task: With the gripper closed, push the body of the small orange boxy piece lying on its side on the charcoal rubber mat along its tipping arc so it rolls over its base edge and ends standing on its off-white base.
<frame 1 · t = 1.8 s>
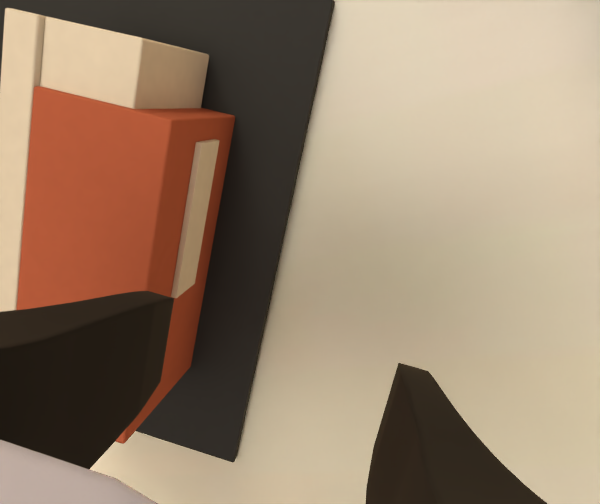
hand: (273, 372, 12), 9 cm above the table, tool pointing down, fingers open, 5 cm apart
mat: (85, 204, 22), on the table
orange boxy piece: (153, 212, 21), resting on mat
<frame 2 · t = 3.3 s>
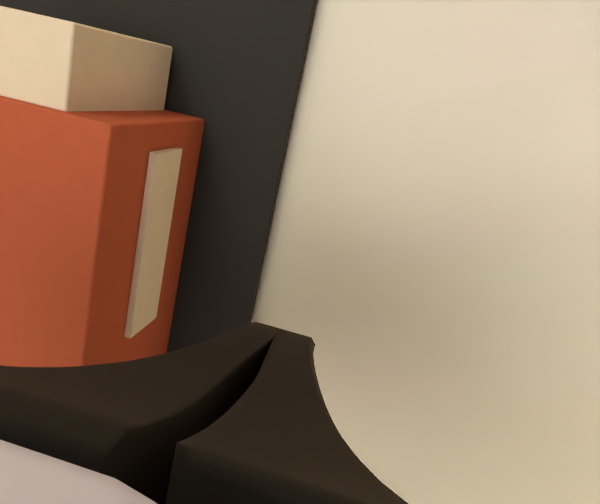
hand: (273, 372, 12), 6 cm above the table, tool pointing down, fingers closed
mat: (35, 221, 19), on the table
orange boxy piece: (111, 231, 18), resting on mat
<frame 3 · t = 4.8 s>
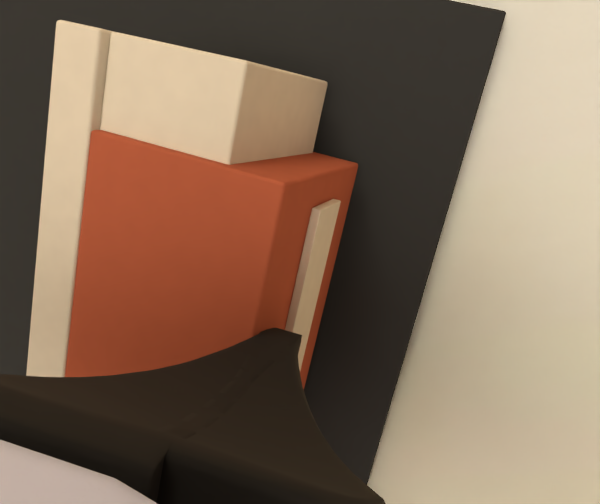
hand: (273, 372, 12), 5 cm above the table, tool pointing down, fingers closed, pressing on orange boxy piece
mat: (156, 267, 18), on the table
orange boxy piece: (243, 284, 17), point 1 cm above the table, tilted 8°, touching gripper, mat
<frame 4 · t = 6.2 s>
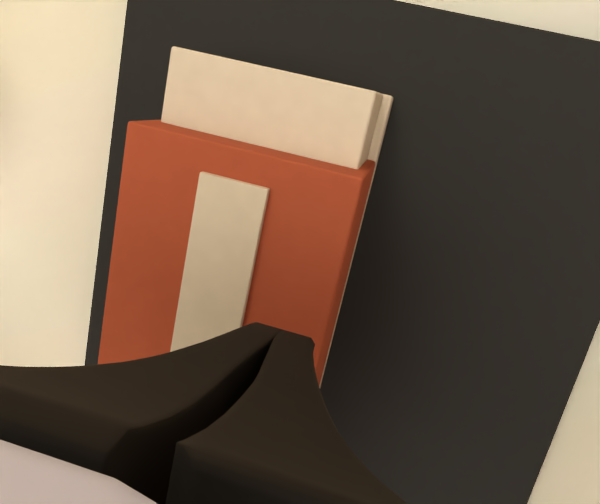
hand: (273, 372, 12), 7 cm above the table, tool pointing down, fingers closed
mat: (328, 294, 19), on the table
orange boxy piece: (334, 315, 16), point 3 cm above the table, tilted 90°, touching mat
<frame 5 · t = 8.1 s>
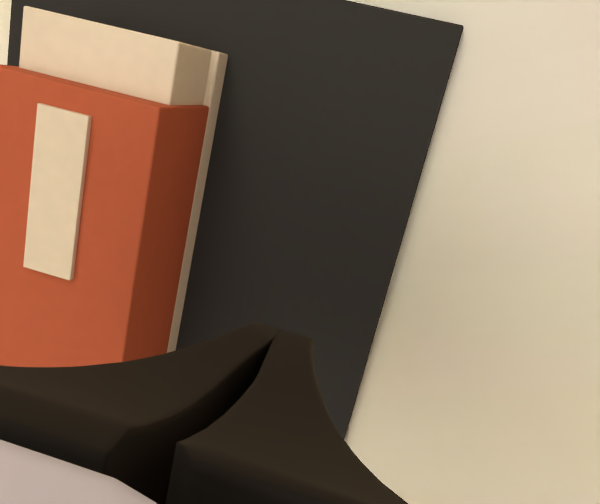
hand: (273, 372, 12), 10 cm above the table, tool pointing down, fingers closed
mat: (189, 224, 22), on the table
orange boxy piece: (173, 232, 19), point 3 cm above the table, tilted 90°, touching mat
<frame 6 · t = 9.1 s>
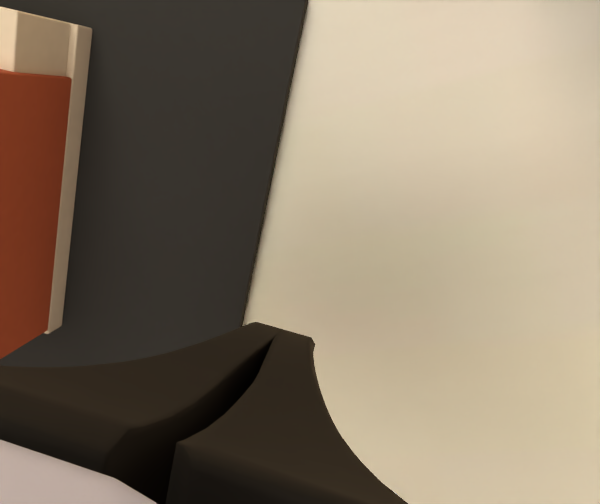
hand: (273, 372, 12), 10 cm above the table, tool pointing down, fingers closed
mat: (69, 196, 23), on the table
orange boxy piece: (36, 198, 20), point 3 cm above the table, tilted 90°, touching mat
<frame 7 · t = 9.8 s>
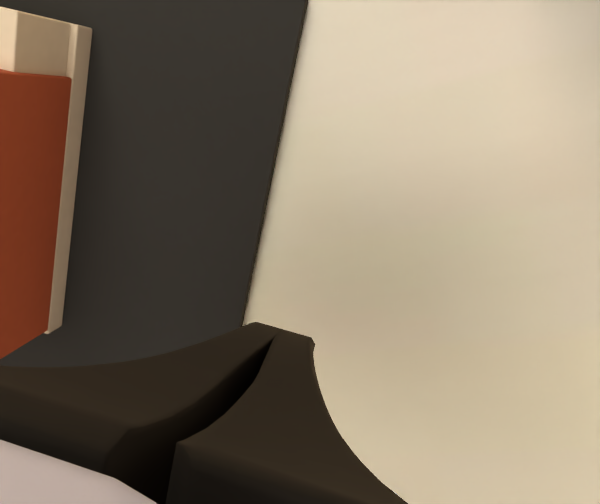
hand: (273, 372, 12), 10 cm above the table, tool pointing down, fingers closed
mat: (69, 196, 23), on the table
orange boxy piece: (36, 198, 20), point 3 cm above the table, tilted 90°, touching mat
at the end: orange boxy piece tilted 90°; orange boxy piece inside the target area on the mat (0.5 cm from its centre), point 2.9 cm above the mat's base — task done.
